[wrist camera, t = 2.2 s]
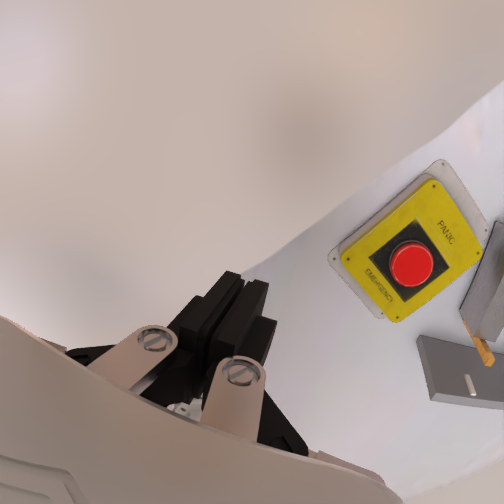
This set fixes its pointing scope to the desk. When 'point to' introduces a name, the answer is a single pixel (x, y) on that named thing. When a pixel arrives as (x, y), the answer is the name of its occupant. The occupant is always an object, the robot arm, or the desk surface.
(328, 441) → the desk surface
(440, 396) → the frame
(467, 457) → the desk surface
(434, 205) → the emergency button
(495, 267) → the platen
